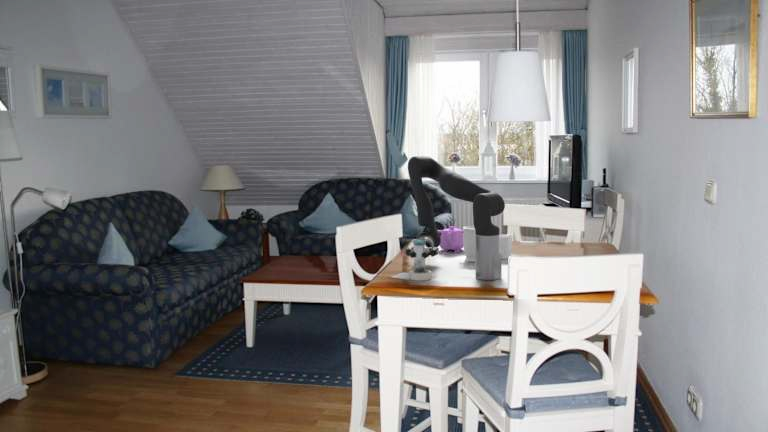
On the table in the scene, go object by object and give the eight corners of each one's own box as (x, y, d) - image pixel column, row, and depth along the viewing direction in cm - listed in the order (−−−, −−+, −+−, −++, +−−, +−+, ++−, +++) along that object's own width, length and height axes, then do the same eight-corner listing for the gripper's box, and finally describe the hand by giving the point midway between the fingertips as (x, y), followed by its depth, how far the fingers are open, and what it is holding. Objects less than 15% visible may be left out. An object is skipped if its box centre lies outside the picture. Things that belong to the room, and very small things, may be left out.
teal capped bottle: (428, 270, 267) (428, 239, 265) (421, 272, 262) (421, 241, 261) (417, 268, 270) (417, 238, 268) (410, 271, 265) (409, 240, 264)
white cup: (512, 259, 305) (512, 237, 304) (494, 259, 307) (494, 237, 305) (512, 256, 313) (512, 234, 311) (494, 256, 314) (494, 234, 313)
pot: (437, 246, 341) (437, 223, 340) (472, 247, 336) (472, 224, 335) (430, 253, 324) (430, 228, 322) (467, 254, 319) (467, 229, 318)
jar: (458, 260, 305) (457, 227, 303) (472, 257, 312) (472, 224, 310) (477, 264, 297) (477, 229, 295) (491, 260, 304) (491, 226, 302)
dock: (438, 279, 269) (438, 270, 268) (424, 284, 261) (424, 275, 260) (403, 275, 278) (403, 266, 277) (389, 280, 270) (389, 270, 269)
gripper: (406, 237, 280) (399, 245, 263) (441, 238, 277) (437, 246, 261) (406, 255, 281) (400, 264, 264) (441, 256, 278) (437, 265, 262)
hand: (418, 255), depth 262 cm, fingers closed on teal capped bottle, 4 cm apart
